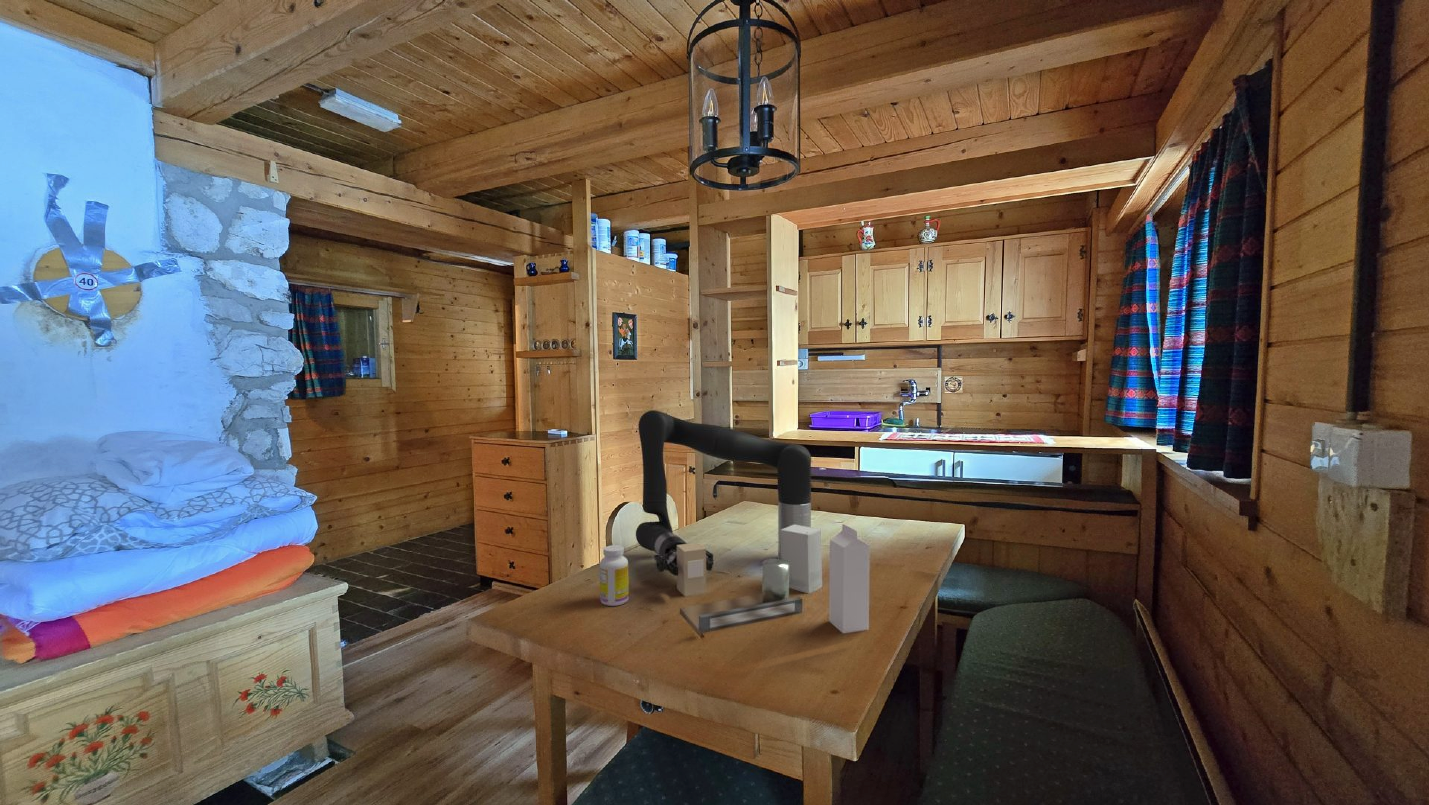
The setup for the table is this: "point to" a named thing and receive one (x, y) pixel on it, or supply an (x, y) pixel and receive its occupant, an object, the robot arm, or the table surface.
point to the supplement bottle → (614, 576)
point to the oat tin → (775, 580)
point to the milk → (849, 581)
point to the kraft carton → (691, 569)
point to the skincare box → (802, 557)
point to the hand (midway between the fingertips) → (693, 569)
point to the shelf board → (737, 612)
